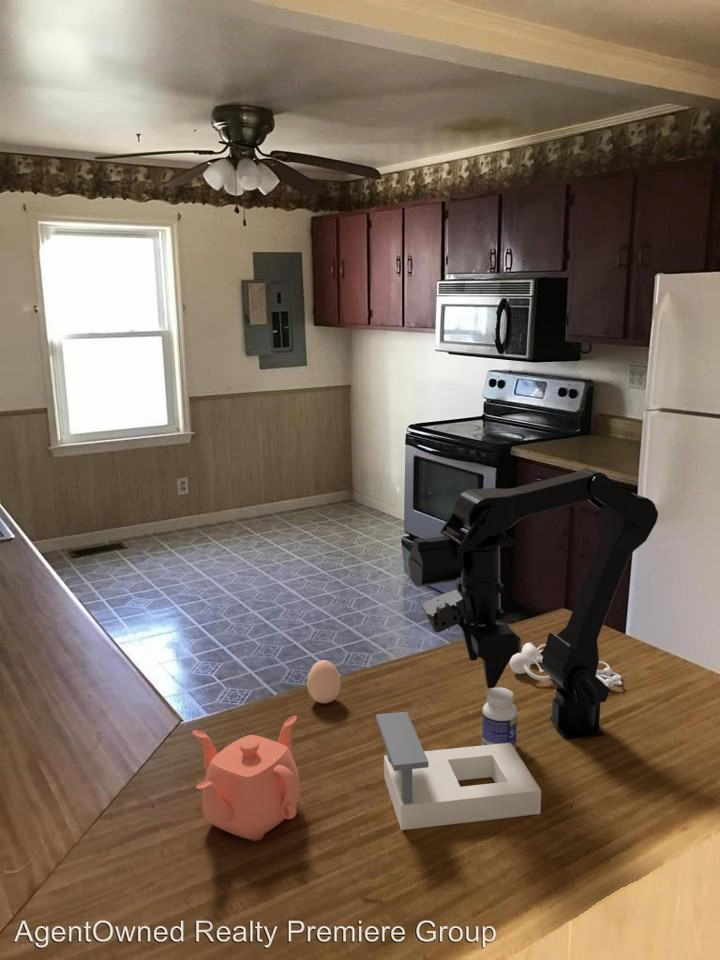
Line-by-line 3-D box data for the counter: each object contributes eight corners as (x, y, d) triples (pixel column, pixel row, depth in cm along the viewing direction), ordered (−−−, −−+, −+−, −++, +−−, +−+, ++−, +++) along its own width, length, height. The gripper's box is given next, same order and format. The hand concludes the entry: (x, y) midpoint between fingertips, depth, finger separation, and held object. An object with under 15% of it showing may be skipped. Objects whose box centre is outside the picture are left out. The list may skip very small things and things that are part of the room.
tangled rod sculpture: (630, 677, 147) (632, 656, 146) (612, 704, 134) (614, 682, 134) (529, 652, 156) (531, 633, 156) (504, 676, 144) (506, 655, 143)
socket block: (508, 762, 117) (510, 701, 115) (541, 816, 105) (544, 749, 103) (376, 776, 114) (375, 714, 112) (394, 833, 102) (393, 765, 100)
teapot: (201, 863, 97) (195, 783, 95) (197, 795, 111) (191, 724, 108) (316, 842, 100) (313, 765, 98) (299, 779, 114) (296, 710, 112)
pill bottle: (516, 757, 119) (517, 703, 117) (480, 753, 120) (481, 700, 118) (516, 738, 124) (517, 686, 122) (482, 735, 125) (483, 683, 123)
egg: (330, 713, 133) (329, 671, 131) (301, 705, 135) (300, 664, 134) (347, 698, 137) (346, 657, 136) (318, 691, 140) (317, 651, 139)
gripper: (413, 561, 124) (416, 652, 127) (442, 604, 106) (445, 709, 109) (482, 554, 125) (483, 645, 129) (522, 596, 107) (522, 700, 111)
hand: (481, 673), depth 119 cm, fingers open, 9 cm apart
